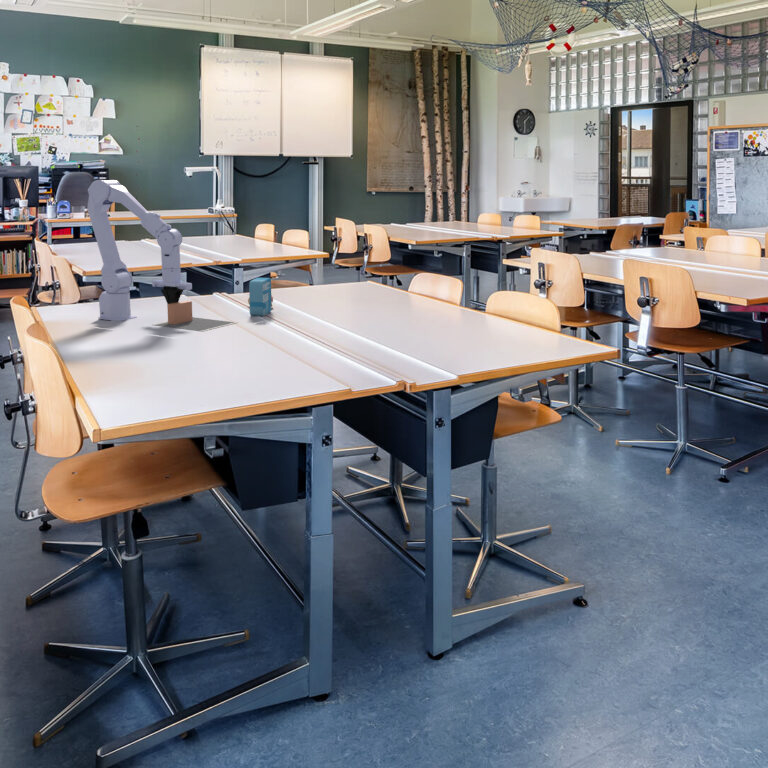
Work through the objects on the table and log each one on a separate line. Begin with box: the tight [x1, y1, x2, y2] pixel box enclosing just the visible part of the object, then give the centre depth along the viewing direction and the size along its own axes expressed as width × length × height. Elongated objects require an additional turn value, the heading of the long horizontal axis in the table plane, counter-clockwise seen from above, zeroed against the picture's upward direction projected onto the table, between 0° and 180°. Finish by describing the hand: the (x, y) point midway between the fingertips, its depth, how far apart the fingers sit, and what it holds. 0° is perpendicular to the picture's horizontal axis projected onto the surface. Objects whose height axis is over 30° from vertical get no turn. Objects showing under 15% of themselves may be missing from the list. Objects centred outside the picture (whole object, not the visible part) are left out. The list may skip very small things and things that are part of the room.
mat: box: [152, 316, 239, 333], centre depth 261 cm, size 20×18×1 cm
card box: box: [166, 300, 193, 324], centre depth 262 cm, size 2×9×6 cm, turn 154°
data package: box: [248, 277, 272, 317], centre depth 283 cm, size 12×4×12 cm, turn 173°
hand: (173, 310), depth 264 cm, fingers closed
